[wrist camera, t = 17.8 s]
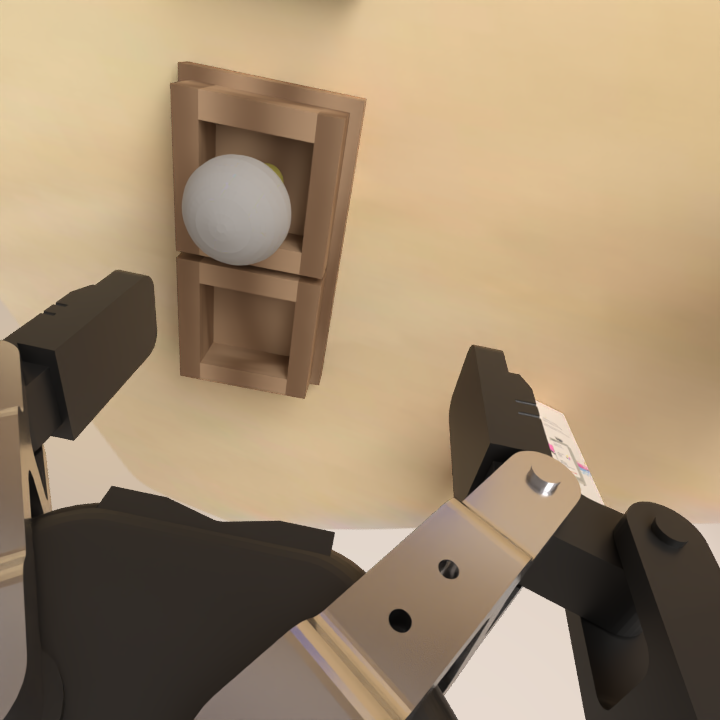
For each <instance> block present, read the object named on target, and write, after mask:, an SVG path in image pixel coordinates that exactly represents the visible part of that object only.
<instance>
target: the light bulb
mask: <svg viewBox="0 0 720 720" xmlns="http://www.w3.org/2000/svg"><path fill="white" fill-rule="evenodd" d="M182 215H183V220H184V223H185V226H186V229H187V231H188V233H189V235H190V237H191V238H192V240H193V241H194V243H195V244H196V245H197V246H198V247H199V248H200V249H201V250H202V251H203V252H204V253H205V254H207V255H208V256H210V257H212V258H213V259H215V260H217V261H220V262H223V263H226V264H230V265H249V264H254V263H258V262H260V261H263V260H265V259H267V258H268V257H270V256H271V255H272V254H274V253H275V252H276V251H277V249H278V248H279V247H280V245H281V244H282V243H283V241H284V240H285V238H286V236H287V234H288V231H289V228H290V224H291V204H290V199H289V195H288V192H287V190H286V188H285V186H284V180H283V176H282V174H281V172H280V170H279V169H278V168H277V167H276V166H274V165H272V164H270V163H263V162H261V161H259V160H257V159H254V158H252V157H249V156H244V155H235V154H227V155H221V156H217V157H214V158H212V159H210V160H208V161H207V162H205V163H204V164H203V165H201V166H200V167H199V168H197V169H196V170H195V171H194V172H193V173H192V175H191V176H190V178H189V179H188V181H187V183H186V186H185V189H184V193H183V199H182Z"/></svg>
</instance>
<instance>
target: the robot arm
mask: <svg viewBox="0 0 720 720" xmlns="http://www.w3.org/2000/svg"><path fill="white" fill-rule="evenodd" d="M156 337H157V324H156V310H155V296H154V285H153V281H152V279H151V278H150V277H149V276H146V275H141V274H136V273H131V272H127V271H122V270H116V271H114V272H112V273H111V274H110V275H108V276H107V277H106V278H104V279H103V280H102V281H100V282H99V283H97V284H96V285H90V286H87V287H84V288H81V289H78V290H75V291H72V292H70V293H69V294H67V295H66V296H64V297H63V298H62V299H60V300H59V301H57V302H56V305H52V306H50V307H49V308H47V309H46V310H45V311H44V313H43V314H42V313H40V314H39V315H37V316H36V317H35V318H33V319H32V320H30V321H29V322H28V323H26V324H25V325H23V326H22V327H20V328H19V329H18V330H16V331H15V332H13V333H12V334H10V335H9V336H8V337H6V338H5V339H3V340H0V720H458V719H457V717H456V715H455V714H454V712H453V710H452V709H451V707H450V705H449V704H448V702H447V700H446V698H445V697H444V695H445V694H446V692H447V691H448V690H449V688H450V687H451V686H452V684H453V683H454V681H455V680H456V679H457V677H458V676H459V674H460V673H461V672H462V670H463V669H464V667H465V666H466V664H467V663H468V661H469V660H470V658H471V657H472V655H473V654H474V653H475V651H476V650H477V648H478V647H479V646H480V644H481V643H482V642H483V640H484V639H485V638H486V636H487V635H488V634H489V632H490V631H491V629H492V628H493V627H494V626H495V624H496V623H497V621H498V620H499V619H500V617H501V616H502V615H503V613H504V612H505V611H506V609H507V608H508V607H509V605H510V604H511V603H512V601H513V600H514V599H515V597H516V596H517V594H518V593H519V592H520V591H521V589H522V588H523V587H525V588H527V589H529V590H531V591H533V592H535V593H537V594H538V595H540V596H542V597H544V598H546V599H548V600H550V601H552V602H554V603H556V604H558V605H559V606H561V607H563V608H565V611H566V616H567V622H568V627H569V632H570V638H571V643H572V649H573V653H574V659H575V665H576V670H577V676H578V681H579V686H580V692H581V697H582V702H583V708H584V713H585V718H586V720H720V568H719V566H718V564H717V562H716V560H715V558H714V556H713V554H712V552H711V550H710V548H709V546H708V544H707V542H706V540H705V539H704V537H703V536H702V534H701V533H700V532H699V531H698V530H697V529H696V528H695V526H693V525H692V524H691V523H690V522H689V521H688V520H687V519H685V518H684V517H683V516H681V515H680V514H678V513H676V512H675V511H673V510H671V509H669V508H667V507H665V506H662V505H659V504H656V503H652V502H637V503H634V504H633V505H631V506H630V507H629V509H628V510H627V511H626V513H625V514H622V513H620V512H618V511H615V510H613V509H611V508H609V507H607V506H604V505H602V504H600V503H598V502H595V501H593V500H591V499H589V498H587V497H586V496H584V495H582V494H581V488H580V484H579V482H578V480H577V478H576V477H575V476H574V474H573V473H572V472H571V471H570V470H569V469H568V468H567V467H566V466H565V465H564V464H562V463H561V462H559V461H558V460H556V459H554V458H553V456H552V453H551V450H550V447H549V443H548V440H547V437H546V434H545V430H544V427H543V424H542V420H541V419H540V414H539V411H538V407H537V406H536V401H535V398H534V394H533V391H532V389H531V387H530V386H529V385H528V384H527V383H526V382H525V380H524V379H523V378H522V377H521V376H520V375H519V374H514V373H509V372H508V368H507V364H506V360H505V356H504V353H503V351H501V350H496V349H491V348H487V347H482V346H477V345H472V346H471V347H470V349H469V351H468V353H467V356H466V359H465V362H464V364H463V367H462V370H461V373H460V376H459V378H458V381H457V384H456V387H455V390H454V392H453V396H452V399H451V404H450V410H449V426H450V443H451V459H452V475H453V492H454V497H453V498H451V499H449V500H448V501H447V502H446V503H444V504H443V505H442V506H441V507H440V508H439V509H438V510H437V511H435V512H434V513H433V514H432V515H431V516H430V517H429V518H428V519H426V520H425V521H424V522H423V523H422V524H421V525H420V526H419V527H417V528H416V529H415V530H414V531H413V532H412V533H411V534H410V535H408V536H407V537H406V538H405V539H404V540H403V541H402V542H401V543H400V544H399V545H397V546H396V547H395V548H394V549H393V550H392V551H390V552H389V553H388V554H387V555H386V556H385V557H384V558H383V559H382V560H380V561H379V562H378V563H377V564H376V565H375V566H374V567H372V568H371V569H370V570H369V571H368V572H367V573H366V572H365V571H364V570H362V569H361V568H360V567H359V566H358V565H356V564H355V563H354V562H353V561H351V560H349V559H348V558H346V557H345V556H343V555H341V554H339V553H337V552H335V551H333V550H332V545H333V539H334V534H335V533H334V532H331V531H326V530H321V529H316V528H311V527H307V526H302V525H297V524H292V523H287V522H283V521H242V522H220V521H216V520H213V519H211V518H209V517H207V516H205V515H202V514H200V513H198V512H196V511H194V510H192V509H190V508H188V507H186V506H184V505H182V504H180V503H178V502H175V501H173V500H171V499H169V498H167V497H163V496H158V495H153V494H148V493H143V492H138V491H134V490H129V489H124V488H120V487H115V486H111V488H110V489H109V491H108V492H107V494H106V495H105V496H104V498H103V499H102V501H101V502H100V503H92V504H83V505H75V506H70V507H65V508H61V509H58V510H54V511H52V505H51V496H50V487H49V478H48V469H47V460H46V452H45V449H44V445H43V443H44V442H45V441H46V440H47V439H48V438H49V437H50V436H54V437H59V438H64V439H68V440H73V441H74V440H75V439H76V438H77V437H78V435H79V434H80V433H81V432H82V431H83V430H84V429H85V428H86V426H87V425H88V424H89V423H90V422H91V421H92V420H93V419H94V417H95V416H96V415H97V414H98V413H99V412H100V411H101V409H102V408H103V407H104V406H105V405H106V404H107V403H108V402H109V400H110V399H111V398H112V397H113V396H114V395H115V394H116V393H117V391H118V390H119V389H120V388H121V387H122V386H123V385H124V383H125V382H126V381H127V380H128V379H129V378H130V377H131V376H132V374H133V373H134V372H135V371H136V370H137V369H138V368H139V366H140V365H141V364H142V363H143V362H144V361H145V360H146V359H147V357H148V356H149V355H150V354H151V352H152V350H153V348H154V346H155V342H156Z"/></svg>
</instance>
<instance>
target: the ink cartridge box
mask: <svg viewBox="0 0 720 720" xmlns="http://www.w3.org/2000/svg"><path fill="white" fill-rule="evenodd" d="M535 401H536V400H535ZM536 406H537V407H538V411H539V414H540V419H541V420H542V424H543V427H544V430H545V434H546V437H547V440H548V443H549V447H550V450H551V453H552V456H553V458H554V459H556V460H558V461H559V462H561V463H562V464H564V465H565V466H566V467H567V468H568V469H569V470H570V471H571V472H572V473H573V474H574V476H575V477H576V478H577V480H578V482H579V484H580V488H581V494H582V495H584V496H586V497H587V498H589V499H591V500H593V501H595V502H598V503H600V504H602V505H604V503H603V500H602V498H601V496H600V494H599V492H598V489H597V487H596V485H595V483H594V480H593V478H592V476H591V474H590V472H589V469H588V467H587V465H586V463H585V460H584V458H583V456H582V454H581V452H580V449H579V447H578V445H577V443H576V441H575V438H574V436H573V434H572V432H571V429H570V427H569V425H568V423H567V420H566V418H565V416H564V414H563V413H561V412H559V411H557V410H555V409H553V408H551V407H549V406H546V405H544V404H542V403H540V402H538V401H536ZM604 506H605V505H604Z"/></svg>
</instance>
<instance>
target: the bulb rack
mask: <svg viewBox="0 0 720 720" xmlns="http://www.w3.org/2000/svg"><path fill="white" fill-rule="evenodd" d="M170 89H171V118H172V147H173V176H174V205H175V233H176V251H181V252H182V253H181V254H180V255H179V256H178V257H177V258H176V262H177V291H178V320H179V349H180V375H181V376H186V377H191V378H197V379H202V380H207V381H213V382H218V383H223V384H228V385H234V386H239V387H244V388H250V389H255V390H260V391H266V392H271V393H276V394H282V395H287V396H292V397H297V398H303V399H305V396H306V392H307V389H308V385H309V384H315V385H319V383H320V379H321V375H322V369H323V363H324V357H325V351H326V345H327V338H328V332H329V326H330V320H331V314H332V308H333V302H334V296H335V289H336V283H337V277H338V271H339V265H340V259H341V253H342V247H343V240H344V234H345V228H346V222H347V216H348V210H349V204H350V198H351V191H352V185H353V179H354V173H355V167H356V161H357V155H358V149H359V142H360V136H361V130H362V124H363V118H364V112H365V106H366V100H367V99H365V98H360V97H355V96H350V95H346V94H341V93H336V92H331V91H327V90H322V89H317V88H312V87H307V86H303V85H298V84H293V83H288V82H283V81H279V80H274V79H269V78H264V77H259V76H255V75H250V74H245V73H240V72H235V71H231V70H226V69H221V68H216V67H211V66H207V65H202V64H197V63H192V62H178V82H175V83H170ZM227 154H235V155H244V156H249V157H252V158H254V159H257V160H259V161H261V162H263V163H270V164H272V165H274V166H276V167H277V168H278V169H279V170H280V172H281V174H282V176H283V180H284V186H285V188H286V190H287V192H288V195H289V199H290V204H291V224H290V228H289V231H288V234H287V236H286V238H285V240H284V241H283V243H282V244H281V245H280V247H279V248H278V249H277V251H276V252H275V253H274V254H272V255H271V256H270V257H268V258H267V259H265V260H263V261H260V262H258V263H254V264H249V265H230V264H226V263H223V262H220V261H217V260H215V259H213V258H212V257H210V256H208V255H207V254H205V253H204V252H203V251H202V250H201V249H200V248H199V247H198V246H197V245H196V244H195V243H194V241H193V240H192V238H191V237H190V235H189V233H188V231H187V229H186V226H185V223H184V220H183V215H182V199H183V193H184V189H185V186H186V183H187V181H188V179H189V178H190V176H191V175H192V173H193V172H194V171H195V170H196V169H197V168H199V167H200V166H201V165H203V164H204V163H205V162H207V161H208V160H210V159H212V158H214V157H217V156H221V155H227Z"/></svg>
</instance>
